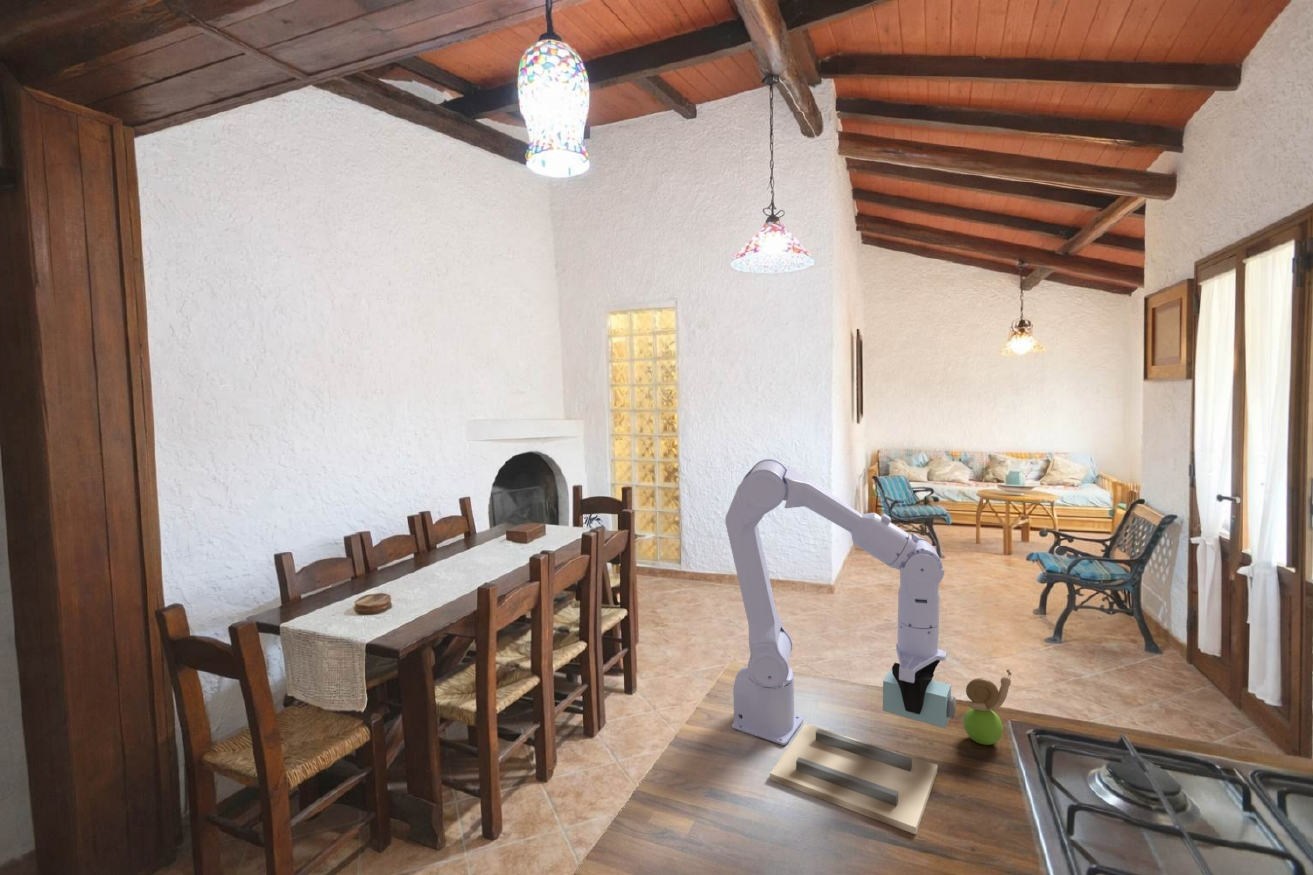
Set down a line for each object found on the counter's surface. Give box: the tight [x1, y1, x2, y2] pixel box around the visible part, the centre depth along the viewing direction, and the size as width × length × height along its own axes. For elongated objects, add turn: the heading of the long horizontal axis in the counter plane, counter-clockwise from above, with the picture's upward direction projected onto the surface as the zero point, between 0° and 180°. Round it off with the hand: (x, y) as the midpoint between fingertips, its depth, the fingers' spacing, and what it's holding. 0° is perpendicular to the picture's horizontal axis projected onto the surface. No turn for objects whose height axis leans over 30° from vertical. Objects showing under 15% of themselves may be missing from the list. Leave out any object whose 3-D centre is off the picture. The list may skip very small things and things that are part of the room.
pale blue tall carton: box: [882, 669, 957, 729], centre depth 96 cm, size 10×4×5 cm, turn 56°
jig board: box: [769, 723, 939, 835], centre depth 91 cm, size 20×14×2 cm
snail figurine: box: [963, 668, 1013, 746], centre depth 96 cm, size 5×6×12 cm
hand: (916, 704), depth 96 cm, fingers closed on pale blue tall carton, 4 cm apart
